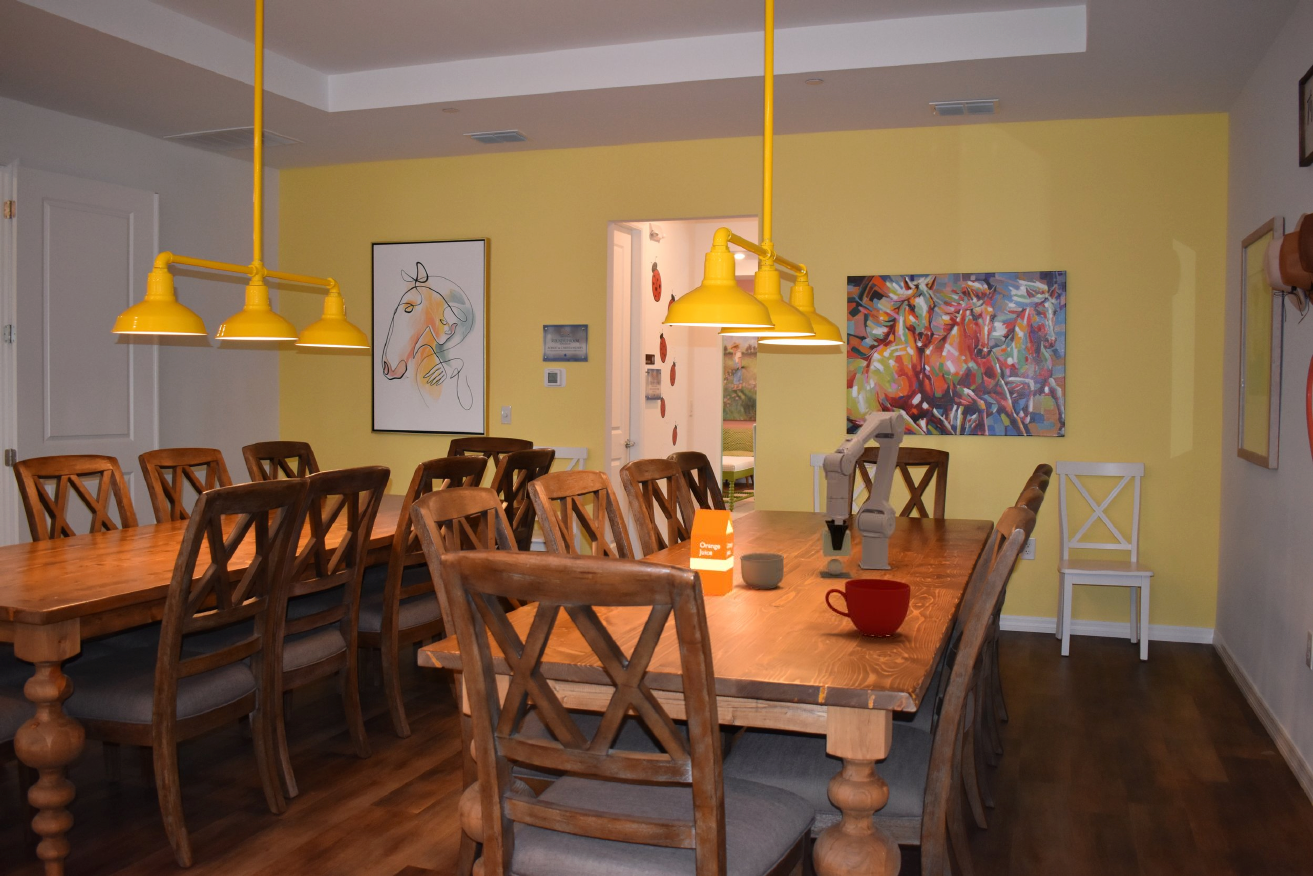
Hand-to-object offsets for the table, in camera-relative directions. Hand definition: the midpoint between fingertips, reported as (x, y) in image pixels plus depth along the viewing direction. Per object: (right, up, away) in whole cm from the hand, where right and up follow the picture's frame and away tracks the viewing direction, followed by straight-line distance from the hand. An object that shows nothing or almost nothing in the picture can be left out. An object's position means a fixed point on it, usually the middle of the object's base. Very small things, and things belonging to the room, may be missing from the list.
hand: (836, 548), depth 276 cm
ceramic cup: (-6, -10, -67) cm, 68 cm away
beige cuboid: (0, -2, 0) cm, 2 cm away
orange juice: (-35, -8, -25) cm, 44 cm away
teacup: (-22, -8, -17) cm, 29 cm away
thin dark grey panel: (0, -7, 0) cm, 7 cm away
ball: (0, -5, 0) cm, 5 cm away
